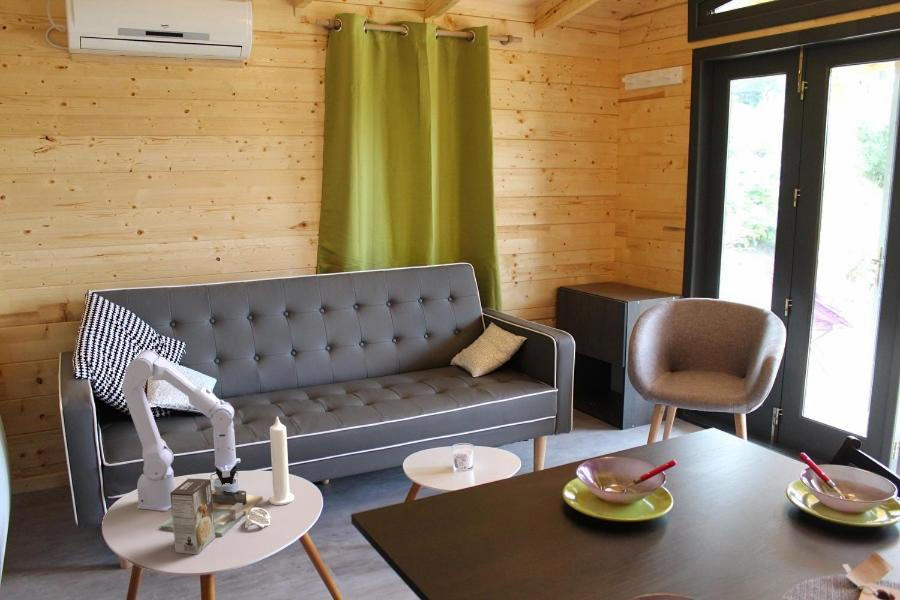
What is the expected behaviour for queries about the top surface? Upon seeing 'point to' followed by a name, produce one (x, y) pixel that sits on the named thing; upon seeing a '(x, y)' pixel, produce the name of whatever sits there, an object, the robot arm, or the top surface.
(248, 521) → the white curved piece
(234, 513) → the door and jamb
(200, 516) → the coffee box
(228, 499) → the bar
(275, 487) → the candle
